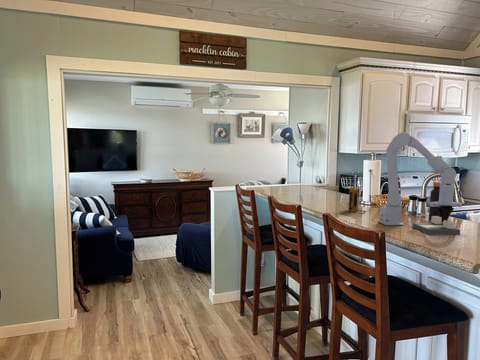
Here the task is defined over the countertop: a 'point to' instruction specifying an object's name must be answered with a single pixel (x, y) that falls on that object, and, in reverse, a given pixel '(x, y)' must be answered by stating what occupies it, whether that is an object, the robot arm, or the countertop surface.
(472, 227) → the countertop surface
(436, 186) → the bottle
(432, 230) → the switch panel
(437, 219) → the tab back
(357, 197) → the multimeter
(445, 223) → the tab front
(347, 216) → the countertop surface
